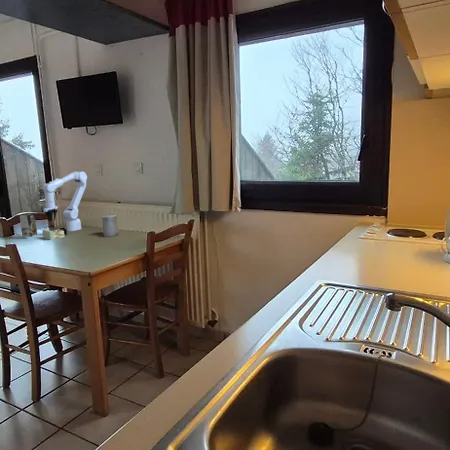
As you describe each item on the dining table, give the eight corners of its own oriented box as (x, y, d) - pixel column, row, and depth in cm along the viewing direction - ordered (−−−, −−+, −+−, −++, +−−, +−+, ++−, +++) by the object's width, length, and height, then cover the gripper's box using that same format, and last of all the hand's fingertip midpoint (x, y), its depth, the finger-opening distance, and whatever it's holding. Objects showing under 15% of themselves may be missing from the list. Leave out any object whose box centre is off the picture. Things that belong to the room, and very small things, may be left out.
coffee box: (31, 238, 277) (28, 215, 273) (22, 238, 277) (19, 215, 274) (37, 235, 286) (35, 212, 282) (28, 235, 286) (25, 213, 283)
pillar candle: (114, 233, 284) (111, 211, 281) (121, 234, 277) (118, 213, 274) (101, 235, 278) (98, 214, 275) (107, 237, 270) (105, 215, 267)
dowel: (53, 224, 284) (52, 211, 283) (55, 224, 282) (54, 212, 280) (49, 225, 282) (48, 212, 280) (51, 225, 280) (49, 212, 278)
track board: (71, 233, 287) (70, 224, 286) (80, 236, 278) (79, 226, 277) (41, 239, 273) (40, 229, 272) (50, 242, 263) (48, 232, 262)
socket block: (59, 235, 278) (58, 229, 277) (64, 236, 273) (63, 231, 272) (47, 237, 273) (46, 231, 272) (52, 239, 267) (51, 233, 266)
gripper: (50, 202, 272) (52, 222, 274) (60, 199, 286) (62, 219, 288) (40, 202, 272) (42, 222, 275) (51, 200, 287) (53, 219, 289)
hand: (52, 220), depth 281 cm, fingers closed on dowel, 3 cm apart
